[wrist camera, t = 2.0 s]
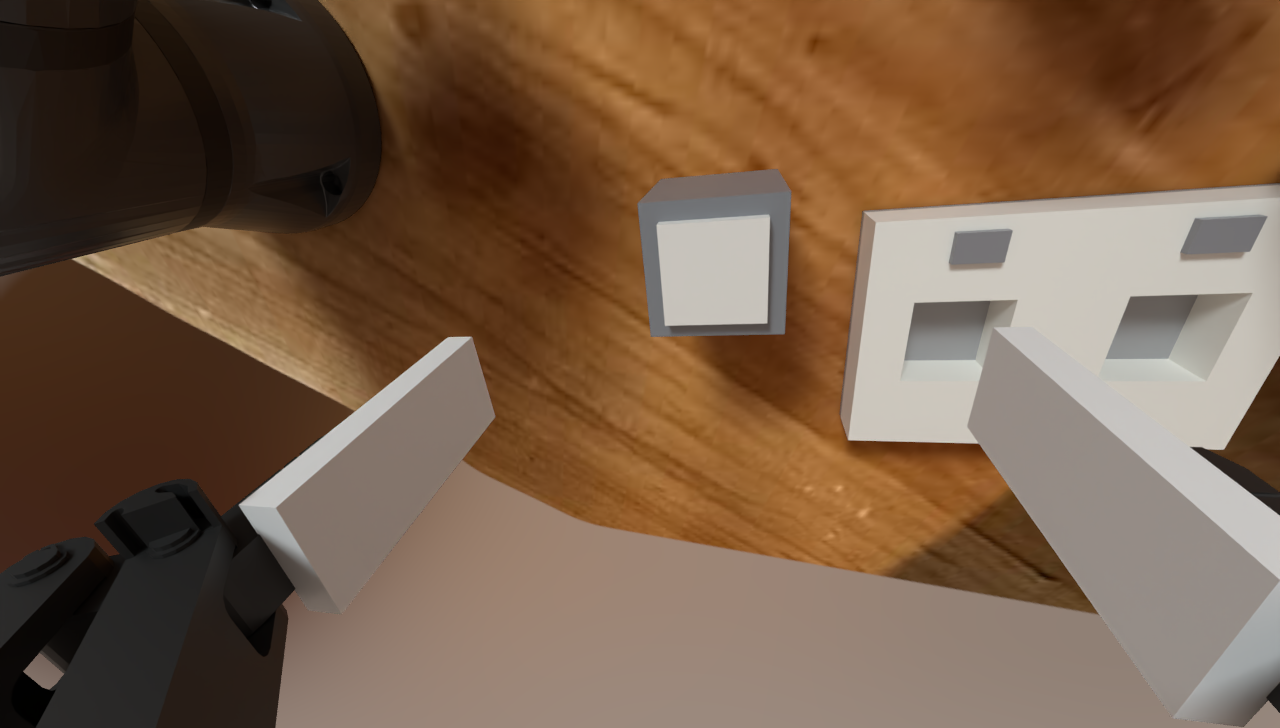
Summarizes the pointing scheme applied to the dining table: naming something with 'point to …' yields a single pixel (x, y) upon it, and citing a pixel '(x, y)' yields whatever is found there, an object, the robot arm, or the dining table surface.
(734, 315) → the plug
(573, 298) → the dining table surface
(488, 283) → the dining table surface
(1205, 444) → the socket plate
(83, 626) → the robot arm
